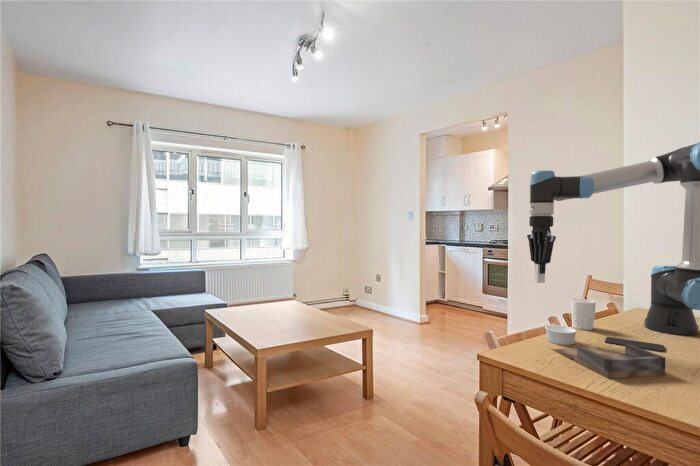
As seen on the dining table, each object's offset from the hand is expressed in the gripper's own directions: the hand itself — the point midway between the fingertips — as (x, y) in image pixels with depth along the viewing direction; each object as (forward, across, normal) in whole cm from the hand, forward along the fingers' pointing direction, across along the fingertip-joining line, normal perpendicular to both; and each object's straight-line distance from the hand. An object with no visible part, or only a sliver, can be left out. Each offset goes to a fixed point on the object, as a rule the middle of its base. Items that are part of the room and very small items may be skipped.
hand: (539, 282), depth 137 cm
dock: (+19, +29, 0) cm, 34 cm away
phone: (+18, +17, +21) cm, 33 cm away
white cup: (+18, -3, +19) cm, 26 cm away
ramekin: (+18, +11, 0) cm, 21 cm away
